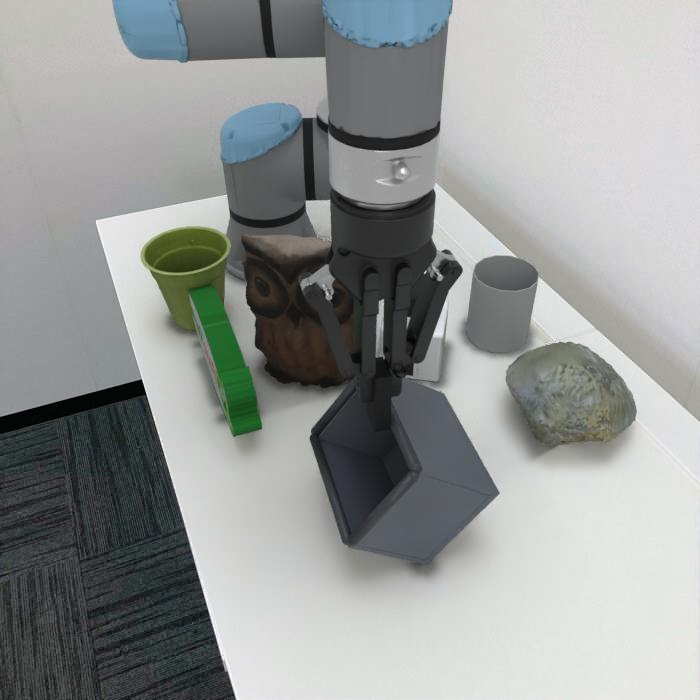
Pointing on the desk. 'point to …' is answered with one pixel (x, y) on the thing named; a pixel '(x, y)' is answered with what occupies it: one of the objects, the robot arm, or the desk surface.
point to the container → (434, 355)
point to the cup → (501, 303)
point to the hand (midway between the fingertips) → (378, 420)
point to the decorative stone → (570, 394)
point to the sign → (225, 361)
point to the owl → (293, 309)
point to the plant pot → (186, 266)
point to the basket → (400, 473)
